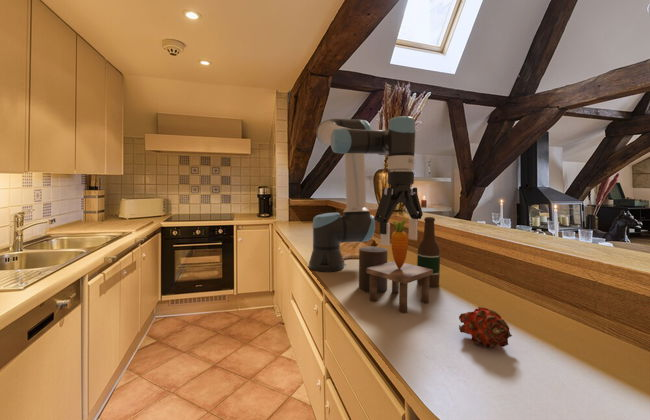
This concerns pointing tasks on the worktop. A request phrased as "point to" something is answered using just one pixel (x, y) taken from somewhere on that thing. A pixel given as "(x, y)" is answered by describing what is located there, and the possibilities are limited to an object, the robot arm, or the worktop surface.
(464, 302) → the worktop surface
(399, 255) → the carrot
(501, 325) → the dragon fruit
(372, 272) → the walnut stool
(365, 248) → the pillar candle
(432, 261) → the beer bottle
